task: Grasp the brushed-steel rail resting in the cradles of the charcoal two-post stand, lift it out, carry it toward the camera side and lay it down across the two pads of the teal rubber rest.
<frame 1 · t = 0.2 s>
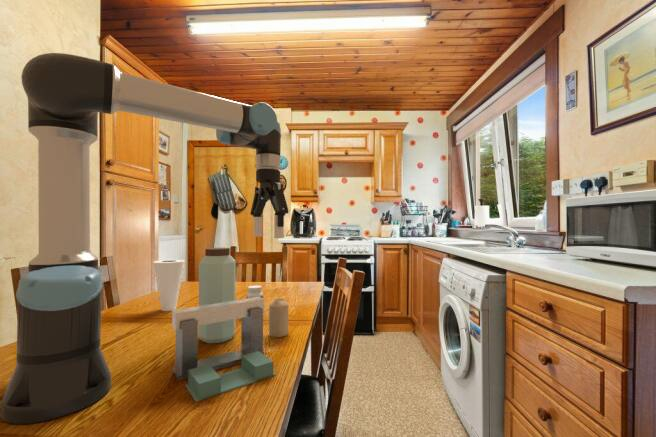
hand: (267, 237, 98), 28 cm above the table, fingers open, 13 cm apart
rest: (232, 380, 64), on the table
pill bottle: (255, 315, 110), on the table
cup: (168, 309, 117), on the table
rail: (221, 319, 72), point 10 cm above the table, touching stand
water bottle: (217, 338, 88), on the table
stand: (221, 363, 71), on the table
candle: (278, 334, 91), on the table
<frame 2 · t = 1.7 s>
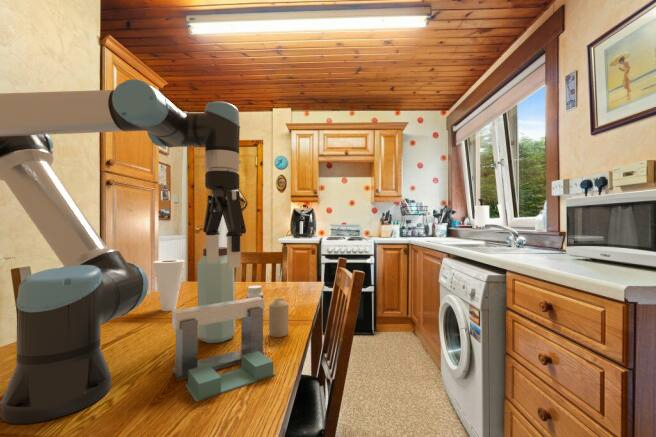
hand: (222, 264, 72), 23 cm above the table, fingers open, 13 cm apart
nothing on the table moved.
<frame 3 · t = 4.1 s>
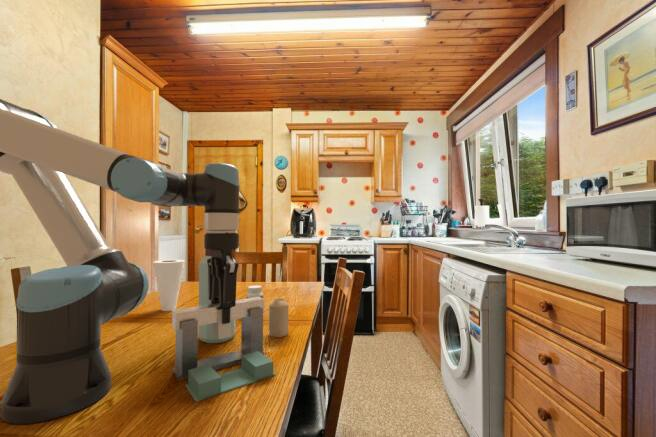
hand: (221, 334, 71), 7 cm above the table, fingers closed on rail, 3 cm apart
rail: (221, 319, 72), point 10 cm above the table, touching gripper, stand
everything else where it was.
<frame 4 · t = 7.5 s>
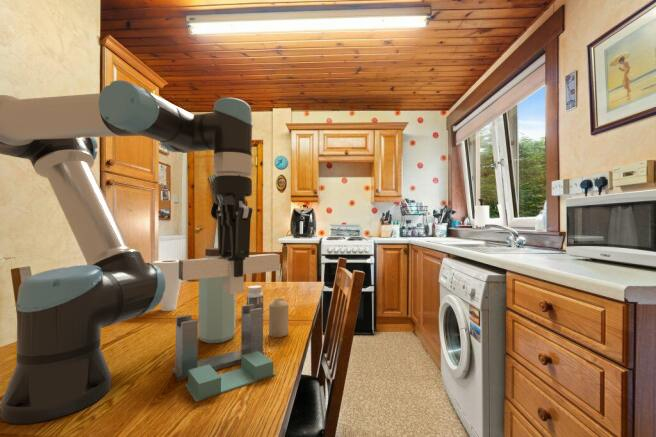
hand: (232, 291, 64), 18 cm above the table, fingers closed on rail, 3 cm apart
rail: (233, 274, 64), point 22 cm above the table, touching gripper
everything else where it was.
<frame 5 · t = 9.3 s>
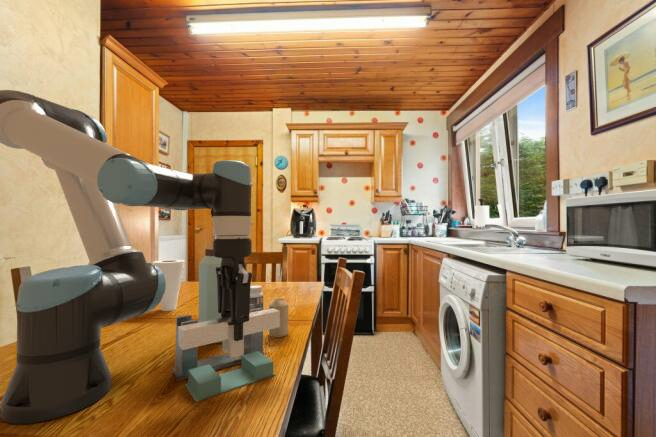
hand: (232, 352, 64), 6 cm above the table, fingers closed on rail, 3 cm apart
rail: (233, 335, 64), point 9 cm above the table, touching gripper
everything else where it was.
when the fingers open (2 cm above the table, at t = 10.8 s): rail drops 2 cm, resting on rest.
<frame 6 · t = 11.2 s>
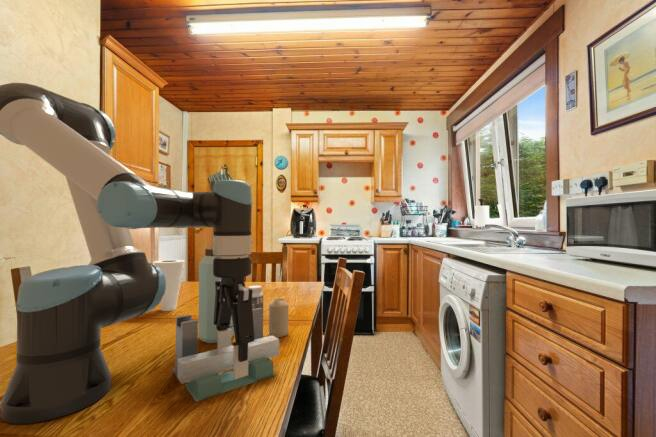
hand: (232, 368, 64), 2 cm above the table, fingers open, 8 cm apart
rail: (232, 365, 64), point 3 cm above the table, touching rest
everything else where it was.
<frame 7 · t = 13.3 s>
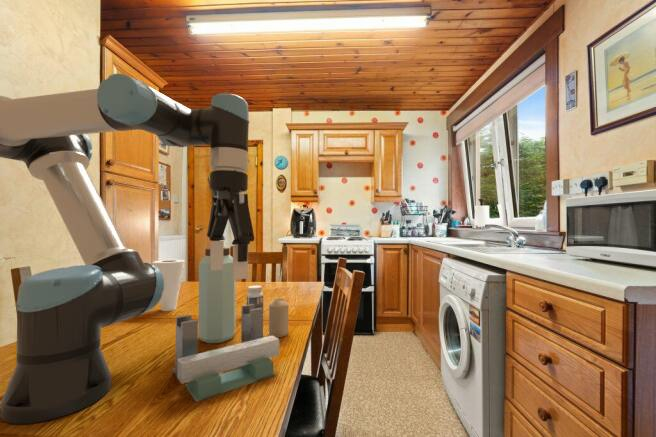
hand: (227, 274, 65), 21 cm above the table, fingers open, 13 cm apart
nothing on the table moved.
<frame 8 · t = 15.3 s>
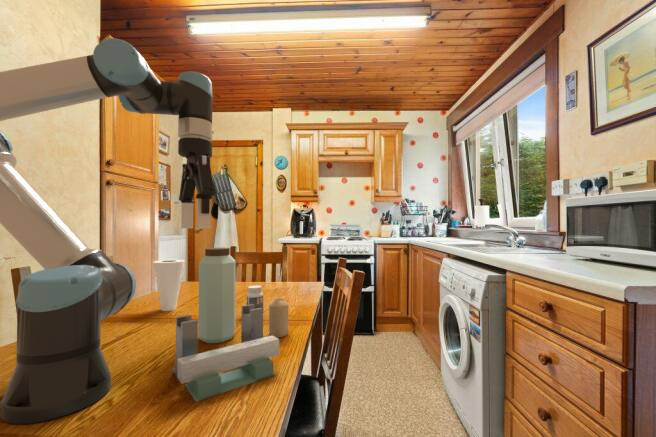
hand: (194, 228, 75), 31 cm above the table, fingers open, 13 cm apart
nothing on the table moved.
at the end: rail inside the target area on the rest (0.0 cm from its centre), point 3.0 cm above the rest's base; rail touching rest; the gripper is holding nothing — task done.
